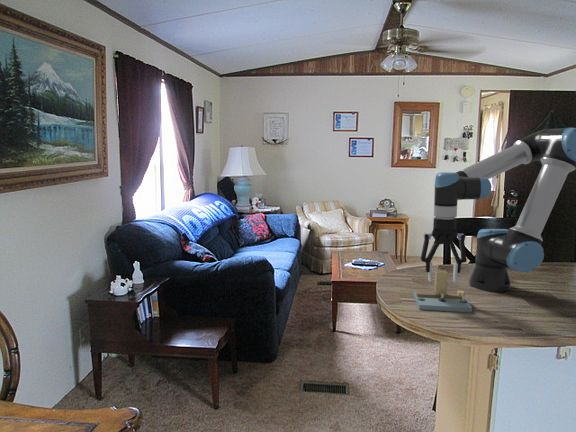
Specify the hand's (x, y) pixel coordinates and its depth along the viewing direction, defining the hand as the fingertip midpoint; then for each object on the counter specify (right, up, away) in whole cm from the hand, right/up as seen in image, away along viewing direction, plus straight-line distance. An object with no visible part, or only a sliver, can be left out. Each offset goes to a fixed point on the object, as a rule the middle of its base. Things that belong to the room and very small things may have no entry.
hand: (442, 281), depth 161 cm
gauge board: (-1, -8, -1) cm, 8 cm away
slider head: (-1, -6, -1) cm, 6 cm away
